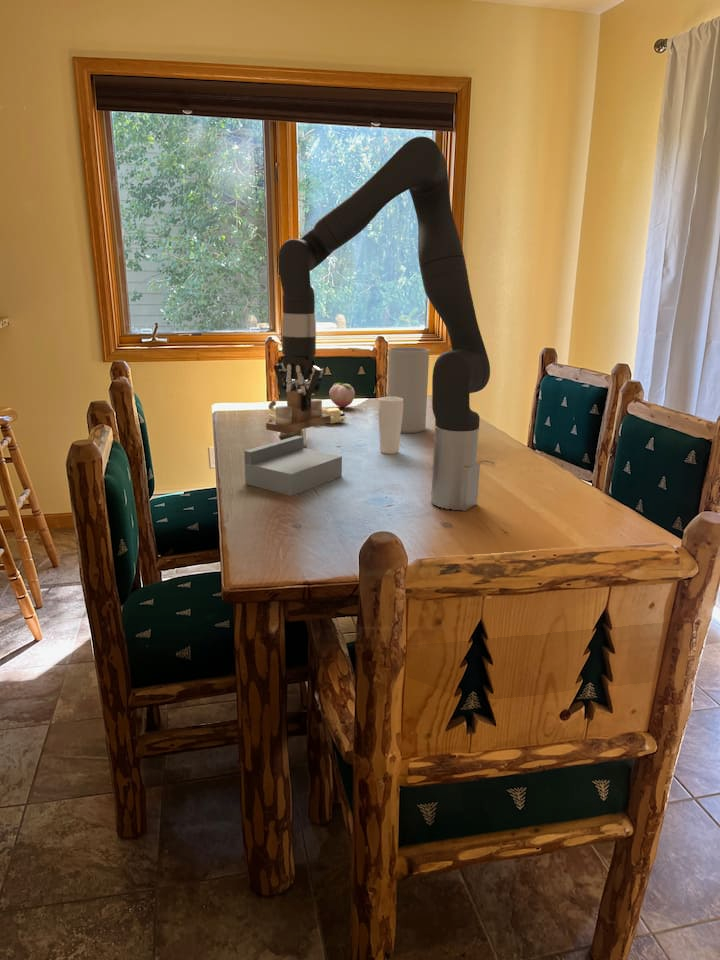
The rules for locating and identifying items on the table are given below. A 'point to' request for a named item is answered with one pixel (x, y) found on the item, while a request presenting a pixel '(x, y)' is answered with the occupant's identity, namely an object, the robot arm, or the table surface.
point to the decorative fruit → (342, 394)
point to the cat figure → (333, 412)
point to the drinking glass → (390, 423)
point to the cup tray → (297, 415)
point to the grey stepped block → (289, 466)
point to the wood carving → (295, 433)
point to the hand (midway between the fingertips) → (299, 409)
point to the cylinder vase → (409, 384)
